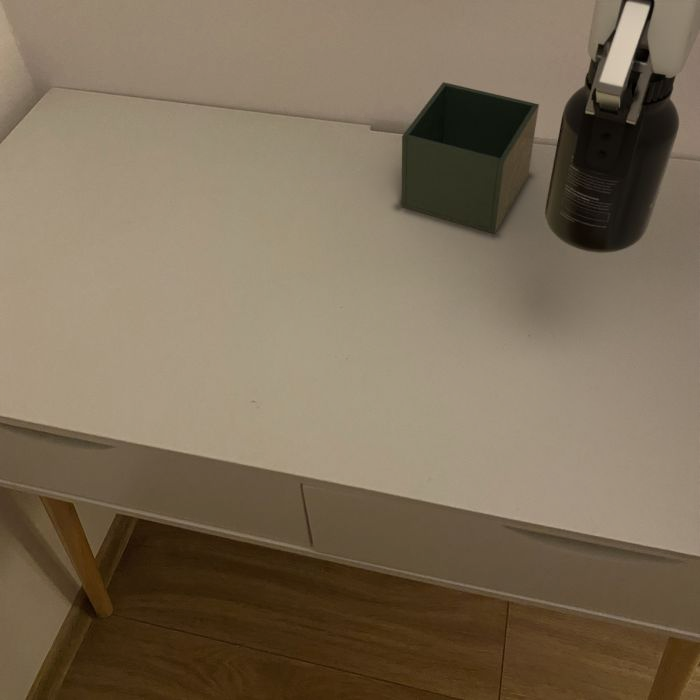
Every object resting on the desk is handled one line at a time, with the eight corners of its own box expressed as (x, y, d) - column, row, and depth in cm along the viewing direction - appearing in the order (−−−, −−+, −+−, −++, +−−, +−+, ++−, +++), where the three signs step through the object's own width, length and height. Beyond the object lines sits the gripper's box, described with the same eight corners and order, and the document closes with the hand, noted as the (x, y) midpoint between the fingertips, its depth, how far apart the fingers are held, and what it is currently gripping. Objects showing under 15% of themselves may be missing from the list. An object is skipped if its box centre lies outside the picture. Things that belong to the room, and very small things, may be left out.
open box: (528, 175, 86) (539, 104, 79) (494, 233, 80) (503, 162, 74) (439, 152, 89) (442, 81, 83) (401, 206, 83) (401, 136, 77)
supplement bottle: (667, 238, 54) (724, 76, 45) (578, 269, 53) (618, 108, 44) (608, 178, 59) (649, 19, 49) (524, 205, 57) (550, 46, 48)
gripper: (760, -116, 31) (644, 239, 44) (815, -250, 40) (707, 75, 54) (563, -144, 33) (511, 203, 47) (661, -264, 43) (594, 51, 56)
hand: (616, 132), depth 50 cm, fingers closed on supplement bottle, 6 cm apart
